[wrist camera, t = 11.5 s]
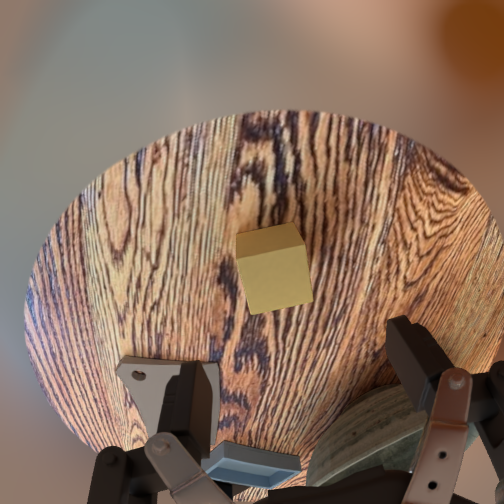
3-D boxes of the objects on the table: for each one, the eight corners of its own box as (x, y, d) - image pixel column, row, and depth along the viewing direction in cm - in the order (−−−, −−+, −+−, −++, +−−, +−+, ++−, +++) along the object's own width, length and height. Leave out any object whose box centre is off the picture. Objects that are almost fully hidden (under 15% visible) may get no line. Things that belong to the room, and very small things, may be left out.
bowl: (290, 362, 26) (310, 458, 17) (473, 324, 26) (522, 382, 17) (288, 462, 34) (297, 523, 25) (423, 430, 35) (446, 479, 26)
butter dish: (199, 461, 33) (198, 476, 31) (224, 440, 31) (223, 457, 29) (269, 475, 36) (271, 489, 34) (299, 456, 34) (302, 471, 32)
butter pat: (248, 284, 23) (251, 315, 19) (235, 234, 21) (235, 258, 17) (301, 272, 22) (313, 302, 19) (293, 221, 21) (305, 243, 17)
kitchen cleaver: (213, 478, 35) (144, 472, 33) (213, 472, 35) (144, 467, 34) (224, 367, 25) (112, 356, 24) (224, 359, 26) (114, 349, 25)
